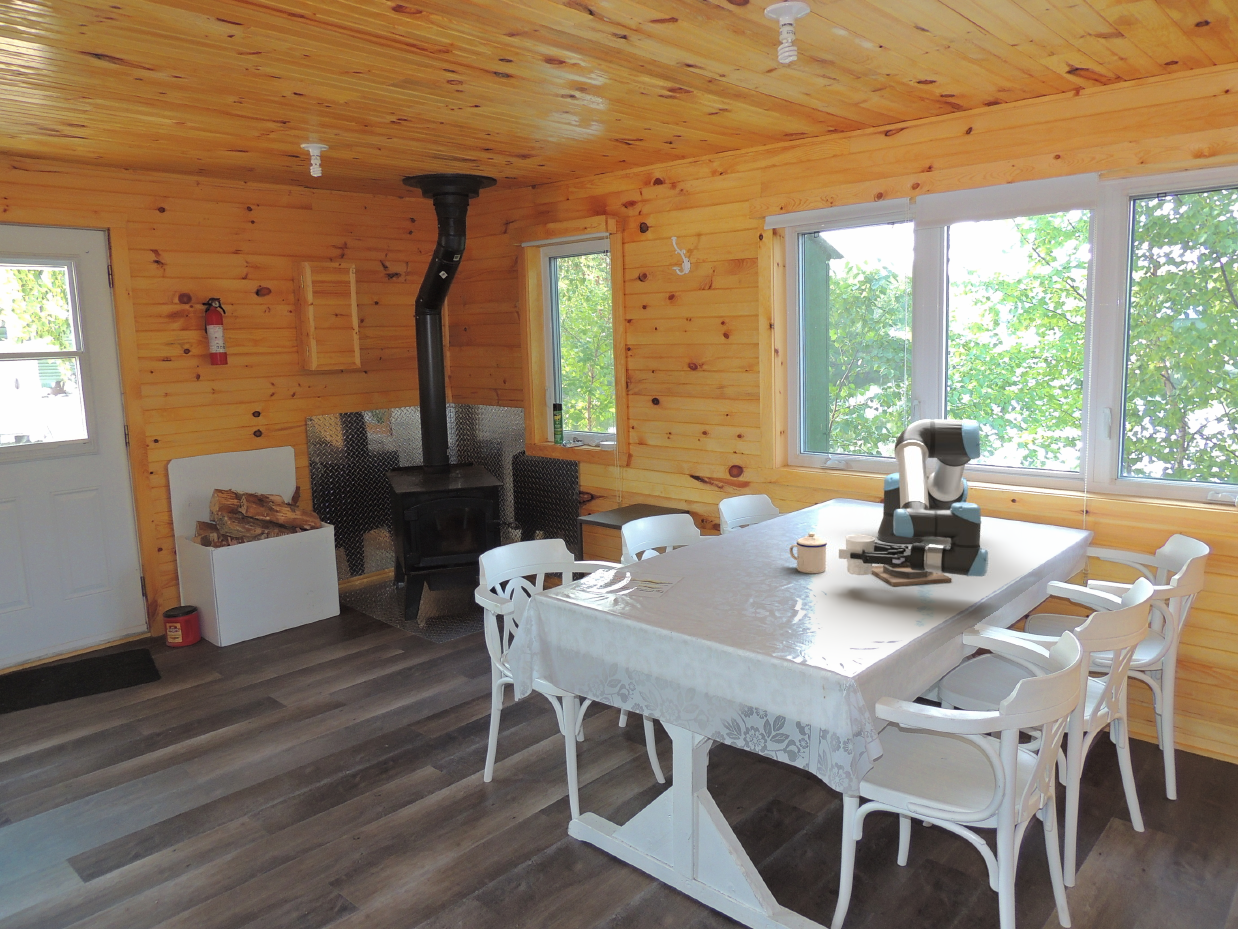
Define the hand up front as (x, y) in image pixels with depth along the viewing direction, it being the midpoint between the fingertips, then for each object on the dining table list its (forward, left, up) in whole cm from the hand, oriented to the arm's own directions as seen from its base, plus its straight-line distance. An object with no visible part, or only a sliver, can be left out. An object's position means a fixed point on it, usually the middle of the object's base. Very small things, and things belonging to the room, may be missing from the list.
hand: (842, 549), depth 254 cm
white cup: (+3, +4, -6) cm, 8 cm away
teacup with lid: (-20, -3, -11) cm, 23 cm away
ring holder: (-6, +23, -11) cm, 26 cm away
